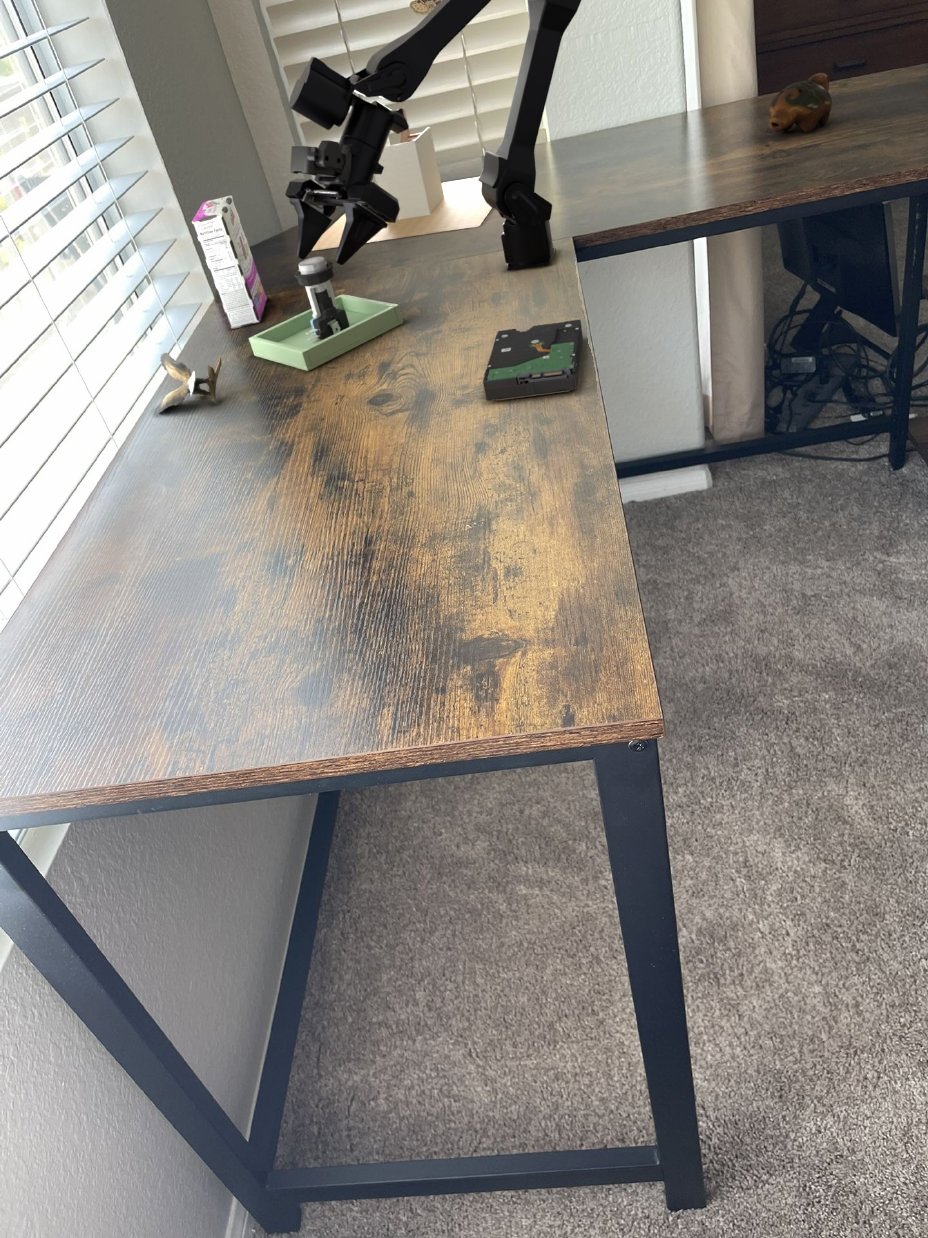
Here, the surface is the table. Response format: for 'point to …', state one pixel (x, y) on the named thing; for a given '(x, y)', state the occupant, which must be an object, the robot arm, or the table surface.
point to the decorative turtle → (802, 105)
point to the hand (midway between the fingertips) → (319, 260)
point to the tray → (298, 352)
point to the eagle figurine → (187, 382)
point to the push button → (321, 297)
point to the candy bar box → (230, 261)
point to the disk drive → (534, 361)
